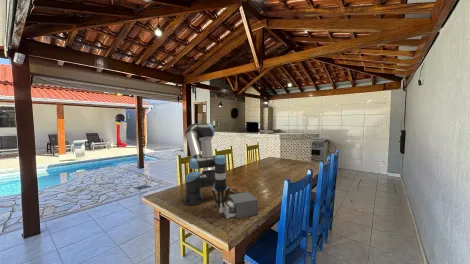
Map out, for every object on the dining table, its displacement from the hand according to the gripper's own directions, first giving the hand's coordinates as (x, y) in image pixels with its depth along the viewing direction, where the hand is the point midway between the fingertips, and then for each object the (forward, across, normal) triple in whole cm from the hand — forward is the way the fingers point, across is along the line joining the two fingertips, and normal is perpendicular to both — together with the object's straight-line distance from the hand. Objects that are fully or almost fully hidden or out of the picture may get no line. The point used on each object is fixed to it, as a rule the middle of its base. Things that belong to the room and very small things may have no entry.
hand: (220, 212), depth 131 cm
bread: (+3, +20, +22) cm, 30 cm away
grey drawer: (+2, +10, 0) cm, 11 cm away
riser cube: (+2, +3, +15) cm, 15 cm away
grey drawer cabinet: (+3, +16, 0) cm, 16 cm away
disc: (-3, +9, 0) cm, 10 cm away
